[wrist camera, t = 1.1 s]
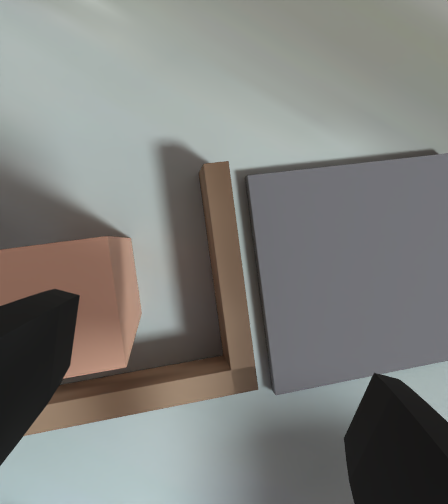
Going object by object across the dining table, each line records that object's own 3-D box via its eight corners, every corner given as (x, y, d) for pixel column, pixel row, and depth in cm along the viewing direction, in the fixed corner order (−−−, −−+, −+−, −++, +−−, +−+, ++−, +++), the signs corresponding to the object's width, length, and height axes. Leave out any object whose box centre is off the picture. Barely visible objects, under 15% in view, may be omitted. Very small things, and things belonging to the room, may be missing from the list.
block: (63, 325, 20) (-16, 392, 11) (51, 248, 20) (-39, 254, 11) (141, 313, 21) (126, 367, 12) (131, 238, 20) (107, 236, 12)
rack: (-34, 426, 19) (-62, 452, 17) (-71, 202, 19) (-106, 195, 16) (247, 372, 22) (258, 389, 19) (220, 170, 21) (228, 161, 19)
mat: (272, 391, 22) (275, 395, 21) (245, 177, 21) (247, 175, 21) (461, 353, 24) (469, 356, 23) (441, 155, 23) (448, 153, 23)
